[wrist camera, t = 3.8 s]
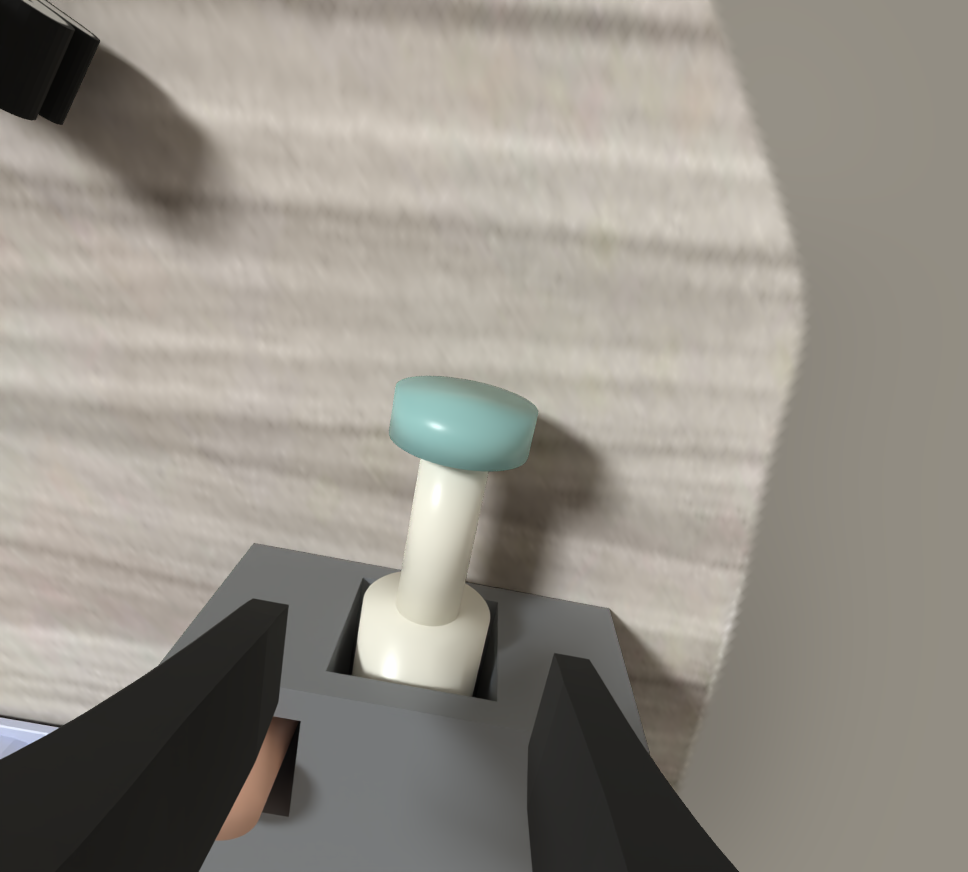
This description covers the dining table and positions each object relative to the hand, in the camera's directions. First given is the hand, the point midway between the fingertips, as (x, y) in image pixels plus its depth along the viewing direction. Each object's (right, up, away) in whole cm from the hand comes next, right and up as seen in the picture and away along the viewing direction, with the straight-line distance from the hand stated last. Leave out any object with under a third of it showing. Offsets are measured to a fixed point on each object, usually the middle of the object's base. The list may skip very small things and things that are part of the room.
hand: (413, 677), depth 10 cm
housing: (-1, -4, +11) cm, 12 cm away
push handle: (-1, -1, +9) cm, 9 cm away
